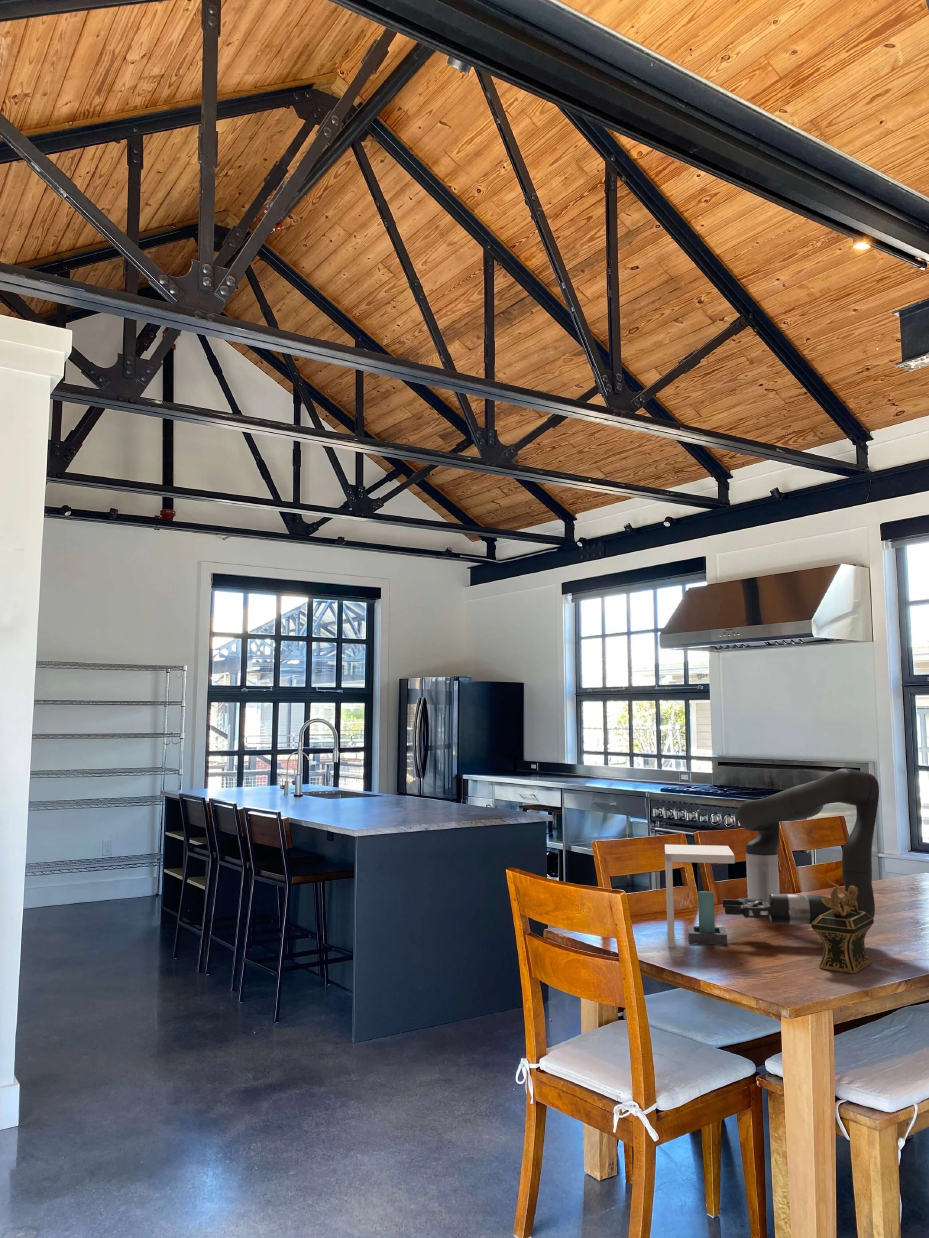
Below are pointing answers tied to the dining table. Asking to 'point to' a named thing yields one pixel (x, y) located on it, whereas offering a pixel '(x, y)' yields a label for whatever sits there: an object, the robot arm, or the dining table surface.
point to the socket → (707, 936)
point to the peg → (706, 912)
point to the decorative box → (843, 932)
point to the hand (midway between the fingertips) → (723, 906)
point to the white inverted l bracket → (689, 855)
